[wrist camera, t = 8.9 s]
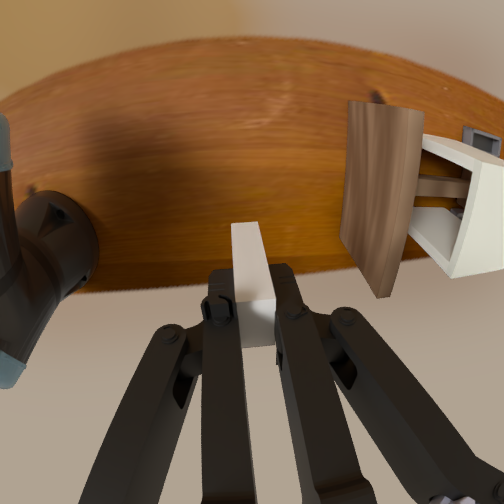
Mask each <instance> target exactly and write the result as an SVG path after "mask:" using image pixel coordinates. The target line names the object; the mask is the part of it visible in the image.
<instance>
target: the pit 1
mask: <svg viewBox="0 0 504 504" xmlns="http://www.w3.org/2000/svg"><path fill="white" fill-rule="evenodd" d="M464 211H465V209H458V208H451V209H450V212H451V213H452V214H454V215H455V216H456V217H458V218H459V219H460V220H461V221H462V219H463V215H464Z"/></svg>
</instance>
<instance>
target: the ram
mask: <svg viewBox="0 0 504 504" xmlns="http://www.w3.org/2000/svg"><path fill="white" fill-rule="evenodd" d="M423 128H424V112H422V111H418V110H413V109H408V108H402V107H396V106H390V105H383V104H375V103H367V102H358V101H348V137H347V158H346V173H345V186H344V198H343V208H342V218H341V227H340V235H339V238H340V239H341V241H342V243H343V244H344V246H345V247H346V249H347V250H348V252H349V253H350V255H351V257H352V258H353V260H354V261H355V263H356V265H357V266H358V268H359V270H360V271H361V273H362V274H363V276H364V278H365V279H366V281H367V283H368V284H369V286H370V288H371V290H372V291H373V293H374V295H375V296H376V298H377V299H378V298H385V297H390V295H391V292H392V289H393V285H394V282H395V279H396V276H397V272H398V269H399V265H400V261H401V258H402V254H403V250H404V246H405V242H406V237H407V233H408V229H409V224H410V219H411V215H412V210H413V204H414V199H415V196H433V197H452V198H457V202H456V203H458V204H459V205H461V206H462V207H464V208H465V206H466V202H467V198H468V193H469V188H470V183H471V178H472V171H470V170H468V169H466V168H464V167H463V170H462V176H461V179H460V178H452V177H442V176H432V175H421V174H419V167H420V159H421V150H422V140H423Z"/></svg>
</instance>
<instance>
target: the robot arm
mask: <svg viewBox="0 0 504 504" xmlns="http://www.w3.org/2000/svg"><path fill="white" fill-rule="evenodd" d="M12 168H13V161H12V159H11V152H10V127H9V123H8V120H7V118H6V117H5V116H4V115H3V114H2V113H0V388H1V389H9V388H12V387H13V386H14V385H15V384H16V382H17V380H18V378H19V377H20V375H21V373H22V372H23V370H24V369H26V363H27V361H28V359H29V357H30V355H31V353H32V351H33V349H34V347H35V345H36V343H37V341H38V339H39V338H40V335H41V334H42V332H43V330H44V328H45V327H46V325H47V323H48V321H49V320H50V318H51V316H52V314H53V313H54V311H55V309H56V308H57V306H58V304H59V303H60V302H61V301H62V300H64V299H65V298H67V297H68V296H70V295H71V294H73V293H74V292H76V291H77V290H79V289H80V288H81V287H83V286H84V285H85V284H86V283H87V282H88V280H89V279H90V277H91V276H92V274H93V273H94V271H95V269H96V267H97V264H98V259H99V246H98V241H97V237H96V234H95V231H94V229H93V226H92V224H91V223H90V221H89V219H88V217H87V216H86V215H85V213H84V212H83V211H82V210H81V208H80V207H79V206H78V205H77V204H76V203H75V202H73V201H72V200H71V199H69V198H68V197H66V196H64V195H62V194H60V193H57V192H54V191H40V192H37V193H35V194H33V195H32V196H30V197H29V198H27V199H26V200H25V201H23V202H22V203H21V204H20V205H19V207H18V208H17V209H16V211H14V203H13V193H12V179H11V169H12ZM231 234H232V253H233V268H232V269H220V270H213V271H212V273H211V274H210V276H209V283H208V284H209V285H208V296H207V297H205V298H204V299H203V301H202V303H201V310H202V314H203V319H204V320H203V321H202V322H201V323H199V324H198V325H196V326H193V327H190V328H187V329H183V327H181V326H180V325H177V324H168V325H164V326H162V327H160V328H159V329H157V331H156V332H155V333H154V335H153V337H152V339H151V341H150V343H149V345H148V347H147V349H146V351H145V353H144V355H143V357H142V359H141V361H140V363H139V365H138V367H137V369H136V371H135V373H134V375H133V377H132V379H131V381H130V383H129V386H128V387H127V390H126V392H125V394H124V396H123V398H122V400H121V403H120V405H119V407H118V409H117V411H116V413H115V416H114V418H113V420H112V422H111V424H110V427H109V429H108V431H107V434H106V436H105V438H104V441H103V443H102V445H101V447H100V450H99V452H98V455H97V457H96V460H95V462H94V464H93V467H92V469H91V472H90V474H89V477H88V479H87V482H86V484H85V487H84V489H83V492H82V495H81V497H80V500H79V503H78V504H158V502H159V499H160V495H161V492H162V489H163V486H164V482H165V479H166V476H167V473H168V470H169V467H170V463H171V460H172V457H173V454H174V451H175V447H176V444H177V441H178V438H179V435H180V432H181V429H182V425H183V423H184V419H185V416H186V413H187V410H188V407H189V404H190V401H191V398H192V395H193V391H194V389H195V385H196V383H197V380H198V375H201V374H202V399H201V405H202V406H201V444H202V445H201V448H202V449H201V450H202V451H201V452H202V491H203V497H202V502H201V504H258V503H257V495H256V487H255V478H254V469H253V460H252V451H251V441H250V432H249V422H248V412H247V402H246V392H245V380H244V370H243V358H242V349H241V348H249V347H260V346H270V345H275V341H276V347H277V352H276V353H277V354H276V365H278V366H279V372H280V377H281V382H282V388H283V393H284V399H285V404H286V410H287V415H288V421H289V426H290V432H291V437H292V443H293V448H294V454H295V459H296V465H297V470H298V476H299V482H300V487H301V493H302V504H377V501H376V497H375V494H374V491H373V488H372V485H371V484H370V482H369V481H368V480H367V479H365V478H364V477H363V475H362V473H361V470H360V466H359V463H358V459H357V455H356V452H355V448H354V445H353V441H352V438H351V434H350V431H349V428H348V424H347V421H346V418H345V414H344V411H343V408H342V405H341V401H340V398H339V395H338V392H337V388H336V385H335V382H336V384H337V385H338V387H339V388H340V390H341V391H342V393H343V394H344V396H345V397H346V399H347V401H348V402H349V404H350V405H351V407H352V408H353V410H354V411H355V413H356V414H357V416H358V418H359V419H360V421H361V422H362V424H363V425H364V427H365V428H366V430H367V431H368V433H369V435H370V436H371V438H372V439H373V441H374V442H375V444H376V445H377V447H378V448H379V450H380V451H381V453H382V455H383V456H384V458H385V459H386V461H387V462H388V464H389V465H390V467H391V468H392V470H393V471H394V473H395V475H396V476H397V477H398V479H399V481H400V482H401V484H402V485H403V487H404V488H405V490H406V491H407V493H408V494H409V495H410V496H411V498H412V499H414V501H415V502H416V503H417V504H504V473H503V472H502V471H500V470H498V469H496V468H495V467H493V466H491V465H489V464H488V463H486V462H484V461H483V460H481V459H479V458H478V457H476V456H475V454H474V453H473V452H472V450H471V449H470V448H469V446H468V445H467V444H466V442H465V441H464V439H463V438H462V437H461V435H460V434H459V433H458V431H457V430H456V429H455V427H454V426H453V425H452V423H451V422H450V421H449V420H448V418H447V417H446V416H445V414H444V413H443V412H442V411H441V409H440V408H439V407H438V405H437V404H436V403H435V402H434V400H433V399H432V398H431V397H430V395H429V394H428V393H427V392H426V390H425V389H424V388H423V387H422V385H421V384H420V383H419V382H418V380H417V379H416V378H415V377H414V375H413V374H412V373H411V372H410V371H409V369H408V368H407V367H406V366H405V365H404V363H403V362H402V361H401V360H400V359H399V357H398V356H397V355H396V354H395V353H394V351H393V350H392V349H391V348H390V347H389V346H388V344H387V343H386V342H385V341H384V340H383V339H382V337H381V336H380V335H379V334H378V333H377V332H376V330H375V329H374V328H373V327H372V326H371V325H370V323H369V322H368V321H367V320H366V319H365V318H364V317H363V316H362V314H361V313H360V312H358V311H357V310H356V309H353V308H350V307H340V308H337V309H336V310H334V311H333V312H332V314H331V315H326V314H319V313H315V312H312V311H311V310H310V309H309V307H308V306H306V305H305V304H304V303H303V300H302V297H301V294H300V291H299V288H298V285H297V283H296V279H295V277H294V274H293V271H292V269H291V268H290V267H289V266H288V265H287V264H286V263H282V264H270V265H268V263H267V259H266V255H265V251H264V246H263V242H262V238H261V234H260V230H259V226H258V222H246V223H233V224H231ZM334 381H335V382H334Z"/></svg>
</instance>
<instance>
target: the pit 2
mask: <svg viewBox="0 0 504 504" xmlns="http://www.w3.org/2000/svg"><path fill="white" fill-rule="evenodd" d="M501 140H502V138H500V137H497V136H494V135H492V134H489V133H486V132H483V131H480V130H476V129H473V128H470V127H467V126H463V137H462V143H464V144H467V145H469V146H472V147H474V148H477V149H479V150H482V151H484V152H486V153H489V154H491V155H493V156H495V157H497V158H499V156H500V149H501Z"/></svg>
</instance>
